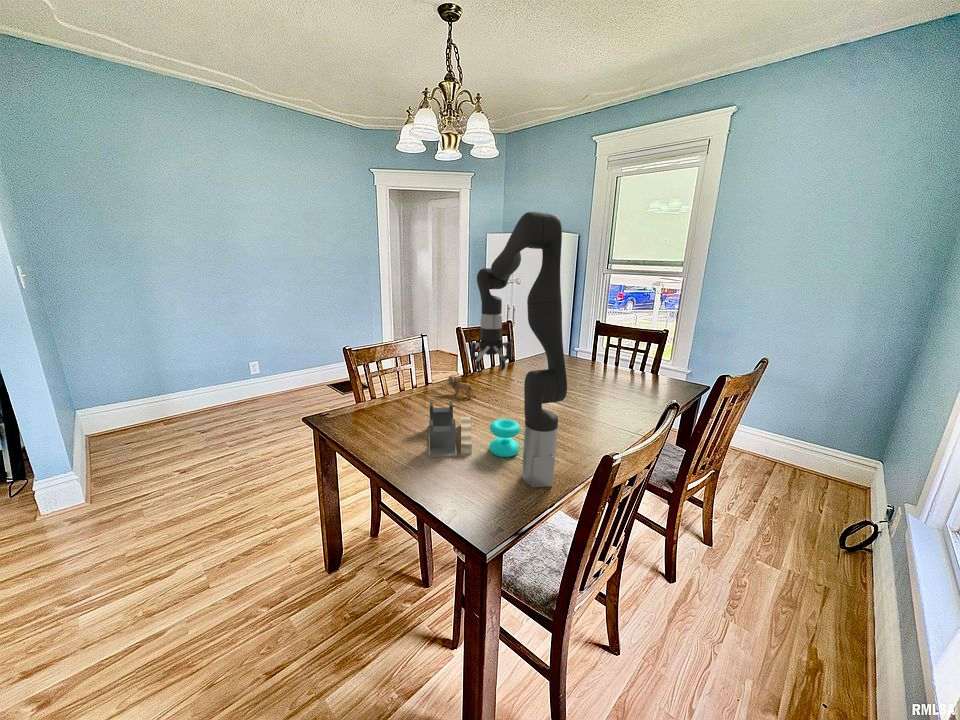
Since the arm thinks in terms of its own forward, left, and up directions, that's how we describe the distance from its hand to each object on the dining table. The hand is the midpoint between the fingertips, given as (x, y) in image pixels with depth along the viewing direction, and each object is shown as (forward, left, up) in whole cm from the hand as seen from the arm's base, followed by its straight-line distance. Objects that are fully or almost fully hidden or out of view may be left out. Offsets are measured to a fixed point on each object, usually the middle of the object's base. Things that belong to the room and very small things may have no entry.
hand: (490, 370), depth 139 cm
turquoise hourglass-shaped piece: (-18, -2, -23) cm, 30 cm away
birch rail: (-8, +10, -23) cm, 26 cm away
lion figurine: (+35, +8, -23) cm, 42 cm away
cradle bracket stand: (-8, +18, -23) cm, 30 cm away
